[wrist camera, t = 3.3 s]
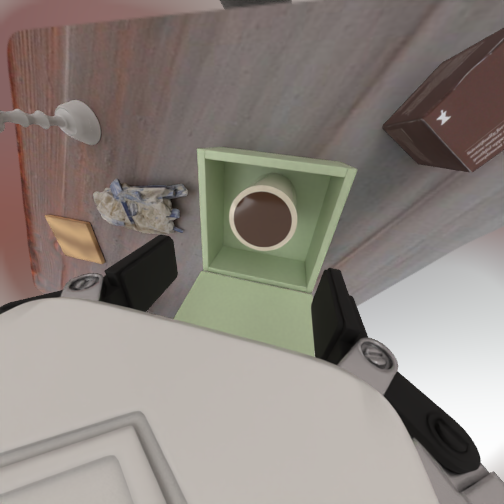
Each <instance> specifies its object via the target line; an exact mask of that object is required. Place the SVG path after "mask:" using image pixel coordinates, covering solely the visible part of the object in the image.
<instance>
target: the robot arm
mask: <svg viewBox="0 0 504 504" xmlns="http://www.w3.org/2000/svg"><path fill="white" fill-rule="evenodd" d="M105 273H106V276H104V277H103V276H102V275H101V274H98V273H88V274H83V275H80V276H77V277H75V278H73V279H71V280H70V281H69V282H67V283H66V285H65V286H64V289H63V290H61V291H57V292H53V293H49V294H44V295H41V296H36V297H32V298H28V299H23V300H19V301H15V302H10V303H8V304H5V305H3V306H2V307H0V504H504V482H503V481H502V480H501V479H500V478H499V477H498V476H497V474H496V473H495V472H490V473H489V472H488V471H487V469H486V468H485V467H484V466H483V465H482V464H481V463H480V455H479V453H478V450H477V448H476V446H475V444H474V442H473V441H472V439H471V438H470V436H469V435H468V434H467V433H466V431H465V430H464V429H463V428H462V427H461V426H460V425H459V424H458V423H457V422H456V421H455V420H453V418H451V417H450V416H449V415H448V414H446V413H445V412H444V411H443V410H442V409H441V408H440V407H438V406H437V405H436V404H435V403H434V402H433V401H431V400H430V399H429V398H428V397H427V396H426V395H424V394H423V393H422V392H421V391H420V390H419V389H417V388H416V387H415V386H414V385H413V384H412V383H410V382H409V381H408V380H407V379H406V378H405V377H403V376H402V375H401V374H400V373H399V372H397V369H398V364H397V360H396V358H395V356H394V355H393V354H392V352H391V351H390V350H389V349H388V348H387V347H386V346H385V345H383V344H382V343H380V342H379V341H377V340H374V339H372V338H368V336H367V333H366V330H365V328H364V325H363V323H362V320H361V317H360V314H359V312H358V309H357V306H356V304H355V301H354V298H353V297H352V296H349V294H348V291H347V288H346V285H345V282H344V279H343V277H342V274H341V271H340V270H337V269H332V268H329V269H328V270H324V272H323V275H322V277H321V280H320V283H319V285H318V288H317V291H316V293H315V296H314V298H313V301H312V304H311V315H312V327H313V338H314V350H315V357H313V356H310V355H307V354H303V353H300V352H296V351H293V350H289V349H285V348H282V347H278V346H275V345H271V344H267V343H263V342H260V341H256V340H252V339H248V338H244V337H241V336H237V335H233V334H229V333H226V332H222V331H218V330H214V329H210V328H206V327H202V326H198V325H195V324H191V323H187V322H183V321H179V320H175V319H171V318H167V317H163V316H159V315H155V314H151V313H147V312H146V311H147V310H148V309H149V308H150V306H151V305H152V304H153V303H154V302H155V301H156V300H157V299H158V298H159V297H160V295H161V294H162V293H163V292H164V291H165V290H166V289H167V288H168V287H169V285H170V284H171V283H172V282H173V281H174V280H175V279H176V277H177V275H178V272H177V265H176V257H175V250H174V242H173V240H172V239H171V237H170V236H165V235H158V236H157V237H155V238H154V239H152V240H151V241H149V242H148V243H146V244H145V245H143V246H142V247H140V248H139V249H137V250H136V251H134V252H132V253H131V254H129V255H128V256H126V257H125V258H123V259H122V260H120V261H119V262H117V263H116V264H114V265H113V266H111V267H110V268H108V269H106V270H105Z"/></svg>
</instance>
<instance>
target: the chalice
mask: <svg viewBox="0 0 504 504" xmlns="http://www.w3.org/2000/svg"><path fill="white" fill-rule="evenodd" d="M4 122H12V123H17V124H20V125H22V126H24V127H28V126H29V125H31V124H37V125H40V126H41V127H42V128H44V129H48V128H49V127H50V126H53V125H56V126H59V127H60V128H61V130H62V131H63V132H64V133H66V134H67V135H68V136H70V137H71V138H74V139H77V140H79V141H81V142H84V143H86V144H89V145H95V144H96V143H98V142H99V140H100V136H101V130H100V125H99V122H98V119H97V118H96V116H95V114H94V113H93V111H92V110H91V109H90V108H89V107H88V106H87V105H86V104H84V103H83V102H81V101H78V100H71V101H70V102H67V103H64V104H60V105H59V106H58V107H57V108H56V111H55V116H53V117H51V116H48V115H45V114H44V113H43V112H41V111H39V110H38V111H35V113H34V114H27V113H24V112H23V111H21V110H19V109H15V110H14V111H9V112H3V111H0V133H1V132H2V131H4V128H5V125H4Z"/></svg>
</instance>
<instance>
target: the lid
mask: <svg viewBox="0 0 504 504" xmlns="http://www.w3.org/2000/svg"><path fill="white" fill-rule="evenodd" d="M312 301H313V295H311V294H307V293H302V292H297V291H293V290H288V289H283V288H279V287H274V286H269V285H265V284H260V283H255V282H251V281H246V280H241V279H237V278H232V277H227V276H223V275H218V274H213V273H209V272H204V271H201V272H200V274H199V276H198V277H197V279H196V281H195V283H194V284H193V286H192V288H191V289H190V291H189V293H188V295H187V296H186V298H185V300H184V301H183V303H182V305H181V307H180V308H179V310H178V312H177V313H176V315H175V317H174V319H175V320H179V321H183V322H187V323H191V324H195V325H198V326H202V327H206V328H210V329H214V330H218V331H222V332H226V333H229V334H233V335H237V336H241V337H244V338H248V339H252V340H256V341H260V342H263V343H267V344H271V345H275V346H278V347H282V348H285V349H289V350H293V351H296V352H300V353H303V354H307V355H310V356H313V357H315V354H314V338H313V327H312V315H311V304H312Z"/></svg>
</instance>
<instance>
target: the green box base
mask: <svg viewBox="0 0 504 504" xmlns="http://www.w3.org/2000/svg"><path fill="white" fill-rule="evenodd" d="M197 160H198V179H199V199H200V218H201V237H202V257H203V270H204V271H209V272H213V273H217V274H222V275H227V276H231V277H236V278H241V279H245V280H250V281H255V282H259V283H264V284H269V285H273V286H278V287H283V288H287V289H292V290H297V291H301V292H306V293H312V291H313V288H314V286H315V283H316V280H317V278H318V275H319V272H320V269H321V267H322V264H323V261H324V259H325V256H326V253H327V251H328V248H329V245H330V243H331V240H332V237H333V234H334V232H335V229H336V226H337V224H338V221H339V218H340V216H341V213H342V210H343V208H344V205H345V202H346V199H347V197H348V194H349V191H350V189H351V186H352V183H353V181H354V178H355V175H356V173H357V169H356V168H353V167H351V166H349V165H347V164H344V163H342V162H337V161H329V160H321V159H313V158H305V157H297V156H289V155H282V154H274V153H266V152H258V151H250V150H242V149H234V148H226V147H213V148H198V149H197ZM266 173H278V174H281V175H284V176H285V177H287V178H288V179H289V180H290V181H291V182H292V183H293V185H294V187H295V189H296V193H297V227H296V230H295V233H294V235H293V236H292V238H291V239H290V240H289V241H288V242H287V243H286V244H285V245H283V246H282V247H280V248H278V249H275V250H271V251H259V250H254V249H252V248H249V247H247V246H246V245H244V244H243V243H242V242H240V241H239V240H238V239H237V237H236V236H235V235H234V233H233V231H232V229H231V226H230V221H229V212H230V207H231V205H232V203H233V201H234V199H235V198H236V197H237V195H238V194H239V193H241V192H242V191H243V190H244V189H245V188H246V187H247V186H248V185H249V184H251V183H252V182H253V181H254V180H255V179H256V178H257V177H259V176H261V175H263V174H266Z"/></svg>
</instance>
